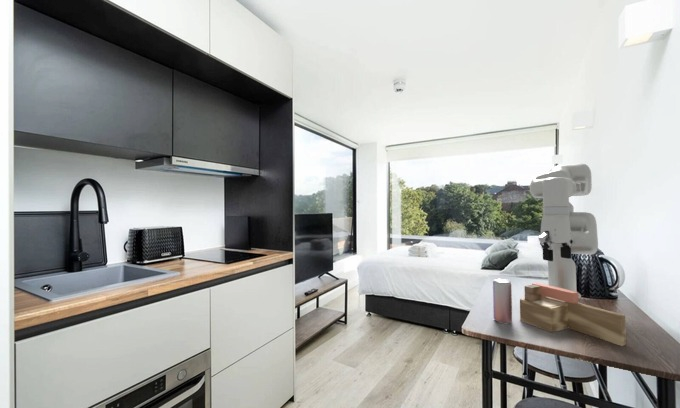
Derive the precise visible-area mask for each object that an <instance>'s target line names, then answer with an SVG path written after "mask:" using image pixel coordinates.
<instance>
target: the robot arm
mask: <svg viewBox="0 0 680 408" xmlns="http://www.w3.org/2000/svg"><path fill="white" fill-rule="evenodd" d="M591 192H592V170H591V167H589V165H587V164H585V163H573V164H572V163H571V164H561V165H556V166H554V167H552V168H550V170H549V172H546V173H543V174H539V175H537V176H535V177H533V179H532V180H531V182H530V185H529V193H530V196H531V197H533V198H534V199H542V210H543V211H542V217H541V222H540V235H539V236H538V240H539V241H538V242H539V244H540V247H541V249H542V259H543V261H547V274H548V275H547V278H548V279H547V281H548V282H547V283H548V284H547V285H549V286H554V287H558V288H562V289H567V290H571V291H575V292H577V267H576V262H575V261H574V259H572V254H573V255H586V256H587V255H588V256H590V255H595V254H596V253H597V252H598V250H599V238H598V227H597V219H596V217H595V216H594V214H592V213H591V212H585V211H584V212H582V211H575V212H574V206H573V204H572V203H571V202H570V198H571V197H581V196H584V197H585V196H588V195H589V194H590V193H591ZM578 295H579V299H580V298H581V297H582V295H581V293H580V292H578ZM578 303H580V301H579V302H578Z"/></svg>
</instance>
